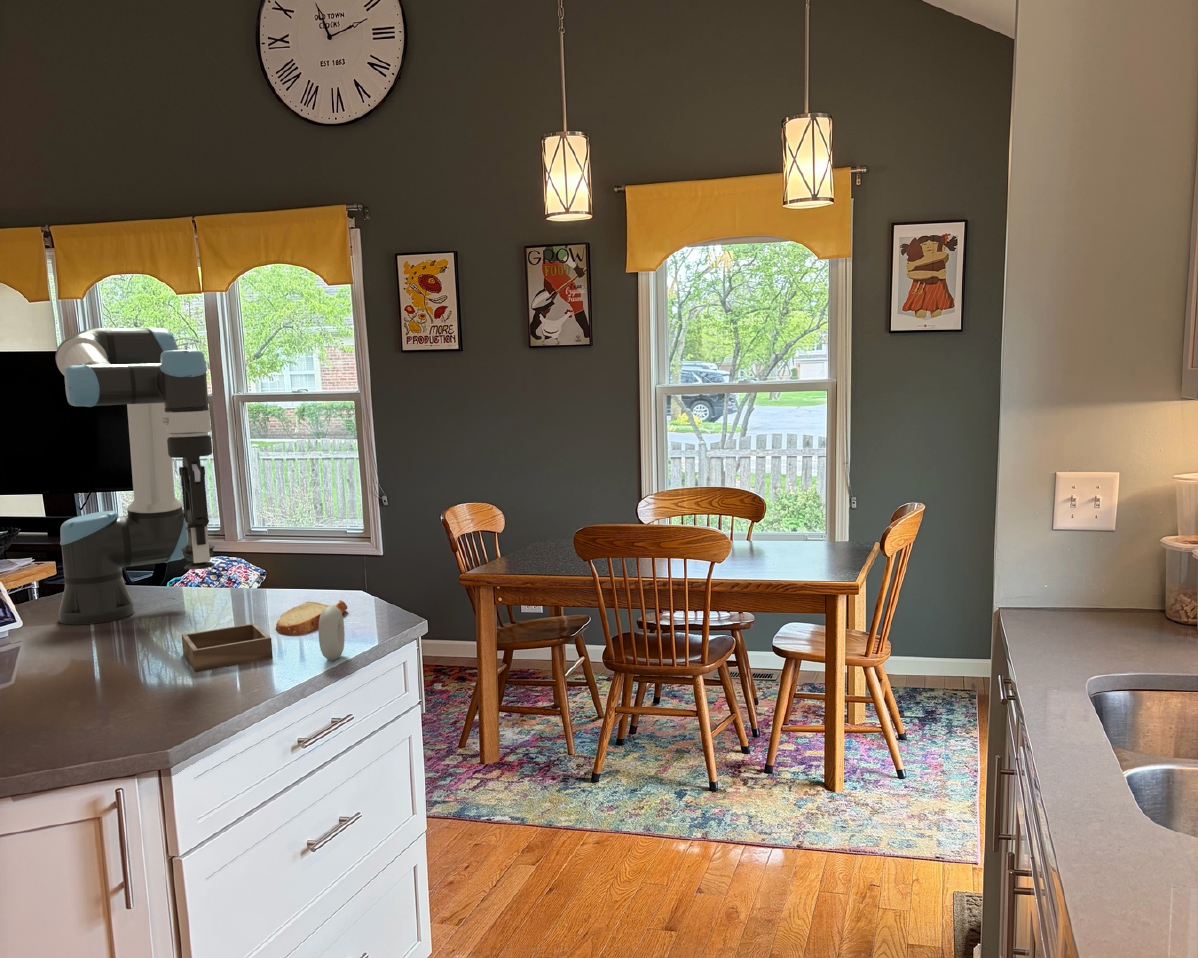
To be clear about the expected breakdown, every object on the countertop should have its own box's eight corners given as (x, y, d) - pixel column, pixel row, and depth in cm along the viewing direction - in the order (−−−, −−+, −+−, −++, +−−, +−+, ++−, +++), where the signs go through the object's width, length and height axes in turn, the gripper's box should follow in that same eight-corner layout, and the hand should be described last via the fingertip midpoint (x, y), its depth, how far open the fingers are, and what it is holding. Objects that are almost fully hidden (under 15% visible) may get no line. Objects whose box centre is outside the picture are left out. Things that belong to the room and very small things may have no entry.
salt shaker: (203, 569, 176) (198, 504, 175) (175, 569, 178) (169, 504, 177) (223, 563, 182) (217, 500, 181) (195, 563, 184) (190, 500, 182)
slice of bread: (286, 639, 196) (285, 621, 196) (258, 622, 210) (257, 605, 210) (369, 623, 207) (368, 606, 206) (338, 608, 221) (337, 592, 221)
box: (183, 655, 186) (181, 634, 185) (256, 642, 193) (255, 623, 192) (195, 672, 174) (193, 650, 174) (272, 658, 181) (271, 637, 181)
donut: (329, 652, 184) (325, 600, 183) (347, 651, 184) (344, 599, 183) (318, 667, 174) (314, 613, 173) (338, 666, 175) (334, 612, 173)
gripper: (160, 434, 184) (171, 554, 186) (173, 438, 167) (184, 569, 170) (203, 432, 187) (212, 550, 190) (219, 435, 171) (229, 564, 174)
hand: (199, 559), depth 180 cm, fingers closed on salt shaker, 6 cm apart
